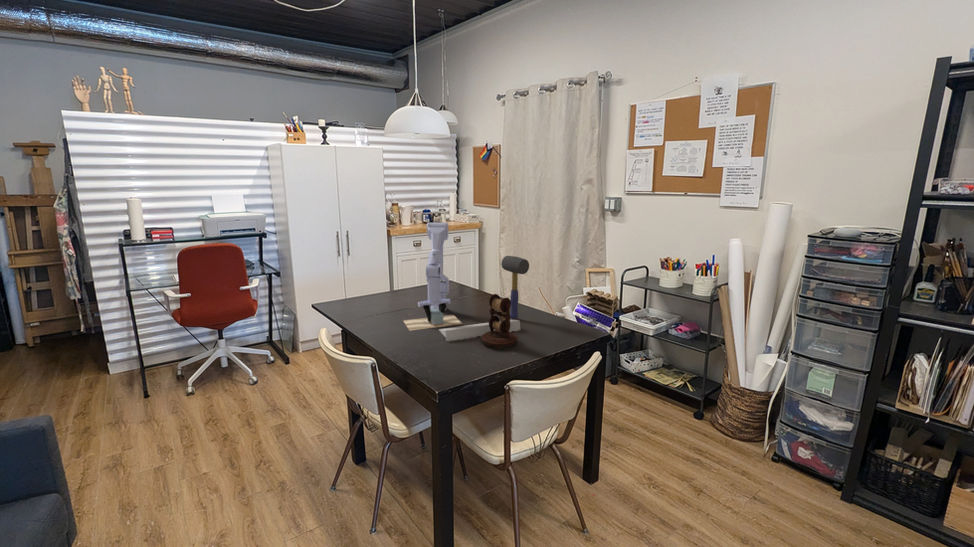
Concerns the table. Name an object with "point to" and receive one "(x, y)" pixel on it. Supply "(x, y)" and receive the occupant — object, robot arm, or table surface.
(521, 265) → the rubber mallet
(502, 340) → the wooden spool holder
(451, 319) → the birch board
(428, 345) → the table surface
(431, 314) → the block
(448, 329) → the decorative molding
